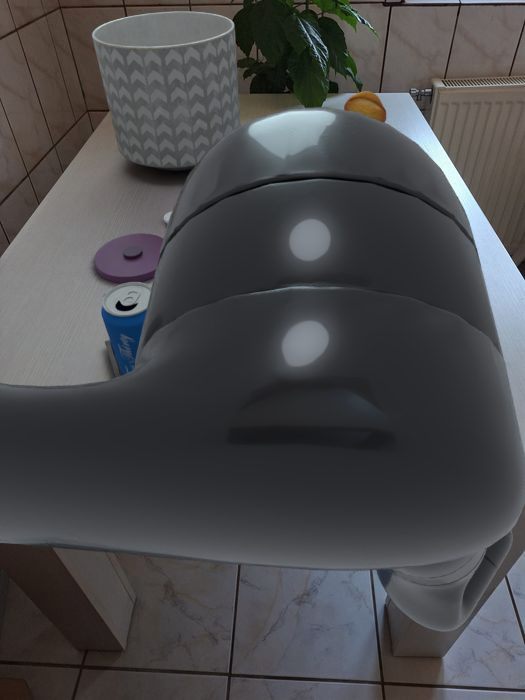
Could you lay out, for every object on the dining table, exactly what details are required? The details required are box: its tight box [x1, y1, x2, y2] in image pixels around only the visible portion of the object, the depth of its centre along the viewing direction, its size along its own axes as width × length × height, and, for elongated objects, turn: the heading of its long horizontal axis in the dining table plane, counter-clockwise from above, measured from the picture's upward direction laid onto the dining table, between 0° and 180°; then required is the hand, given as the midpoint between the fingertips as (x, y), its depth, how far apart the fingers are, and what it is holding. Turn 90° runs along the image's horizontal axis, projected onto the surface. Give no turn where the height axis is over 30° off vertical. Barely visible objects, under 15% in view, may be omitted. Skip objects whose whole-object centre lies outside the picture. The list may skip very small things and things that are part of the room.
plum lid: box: [93, 233, 164, 284], centre depth 78 cm, size 12×12×2 cm
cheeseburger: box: [343, 90, 387, 123], centre depth 108 cm, size 10×11×10 cm
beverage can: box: [100, 282, 152, 376], centre depth 57 cm, size 6×6×12 cm
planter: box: [91, 11, 241, 172], centre depth 96 cm, size 25×25×24 cm
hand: (168, 354), depth 54 cm, fingers open, 8 cm apart
